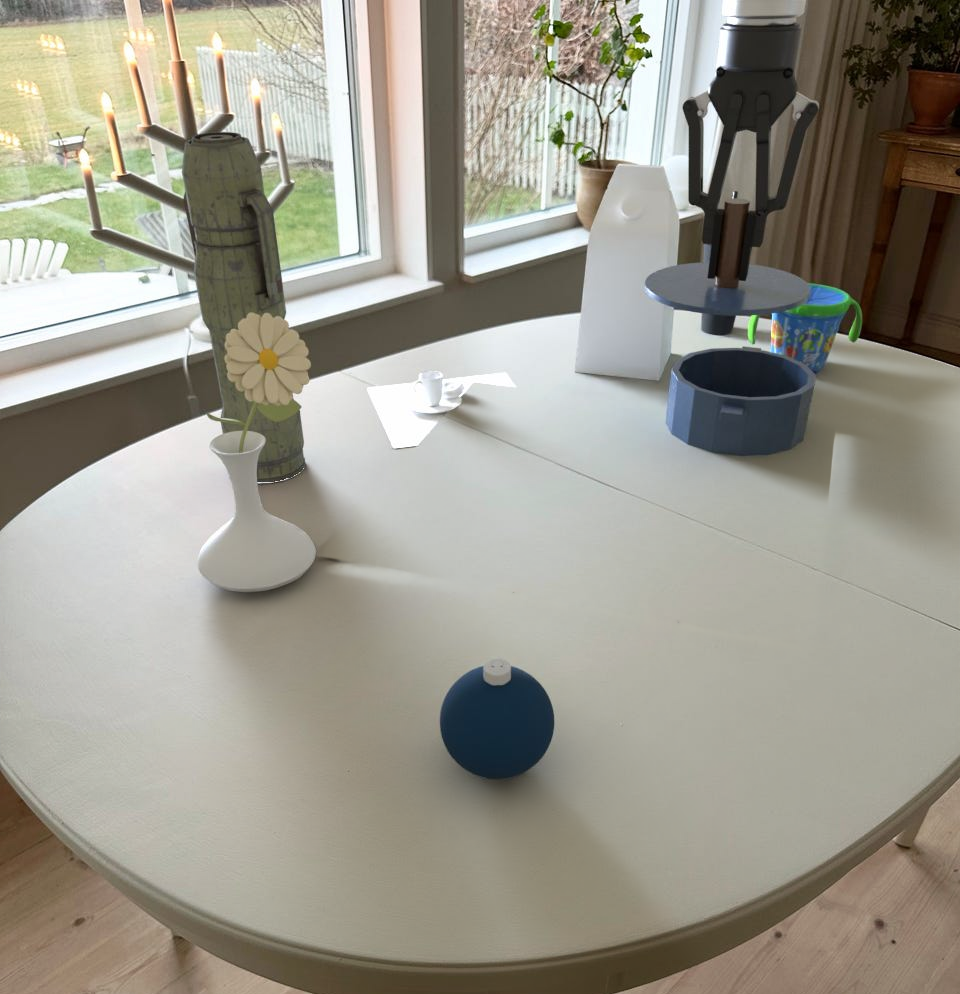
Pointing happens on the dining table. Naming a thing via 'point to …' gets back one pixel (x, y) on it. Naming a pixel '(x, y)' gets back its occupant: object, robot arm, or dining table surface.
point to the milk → (628, 277)
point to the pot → (739, 401)
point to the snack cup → (810, 326)
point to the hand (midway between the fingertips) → (727, 275)
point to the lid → (728, 278)
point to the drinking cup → (716, 322)
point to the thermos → (237, 276)
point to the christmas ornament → (497, 721)
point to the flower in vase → (252, 531)
